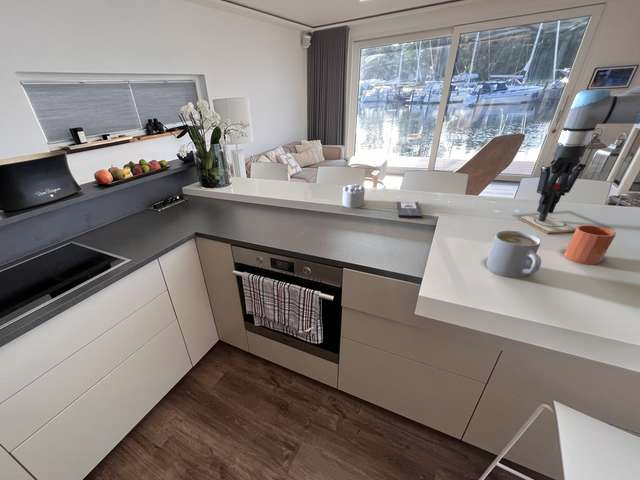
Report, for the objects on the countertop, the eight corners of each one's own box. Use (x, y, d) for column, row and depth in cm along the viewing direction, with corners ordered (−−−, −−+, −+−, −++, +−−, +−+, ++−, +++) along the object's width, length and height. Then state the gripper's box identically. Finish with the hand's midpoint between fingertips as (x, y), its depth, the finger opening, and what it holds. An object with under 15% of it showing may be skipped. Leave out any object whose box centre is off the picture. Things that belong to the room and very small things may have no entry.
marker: (542, 219, 109) (556, 182, 102) (547, 221, 107) (562, 183, 100) (535, 219, 109) (549, 182, 102) (540, 221, 107) (555, 184, 100)
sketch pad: (568, 213, 113) (569, 211, 112) (607, 230, 99) (608, 227, 98) (515, 217, 114) (516, 215, 113) (547, 234, 100) (548, 232, 100)
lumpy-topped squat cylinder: (363, 199, 148) (364, 182, 144) (364, 207, 137) (365, 190, 133) (342, 199, 150) (343, 183, 146) (342, 208, 140) (342, 190, 135)
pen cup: (583, 251, 89) (597, 224, 84) (608, 263, 82) (624, 235, 77) (557, 252, 89) (569, 226, 85) (579, 265, 82) (594, 237, 78)
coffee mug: (479, 260, 89) (489, 231, 84) (515, 260, 87) (526, 230, 82) (503, 284, 78) (515, 252, 73) (544, 284, 76) (559, 251, 71)
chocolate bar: (399, 215, 123) (397, 201, 138) (398, 217, 124) (397, 203, 138) (421, 215, 120) (417, 201, 135) (421, 217, 121) (417, 203, 135)
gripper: (586, 140, 97) (557, 207, 109) (539, 144, 98) (516, 210, 110) (607, 143, 91) (574, 214, 102) (557, 147, 91) (530, 217, 103)
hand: (544, 211), depth 106 cm, fingers closed on marker, 2 cm apart
